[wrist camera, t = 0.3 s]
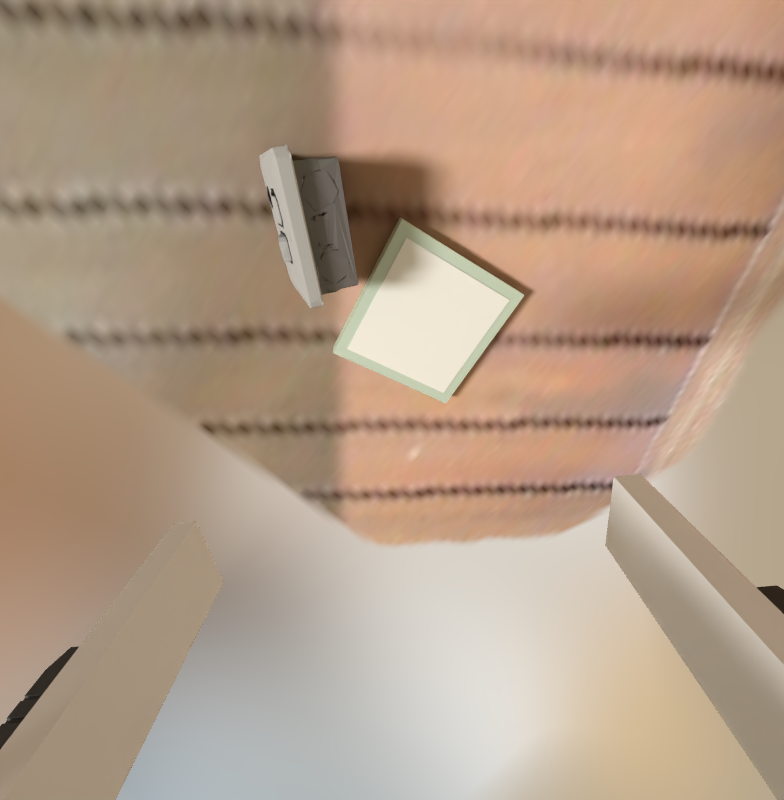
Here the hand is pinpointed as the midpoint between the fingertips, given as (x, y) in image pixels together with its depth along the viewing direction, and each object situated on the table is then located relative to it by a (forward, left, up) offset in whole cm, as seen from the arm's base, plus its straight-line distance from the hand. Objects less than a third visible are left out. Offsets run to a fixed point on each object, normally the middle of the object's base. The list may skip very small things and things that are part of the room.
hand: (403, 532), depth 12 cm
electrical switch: (-3, -7, -26) cm, 28 cm away
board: (0, +6, -26) cm, 27 cm away
